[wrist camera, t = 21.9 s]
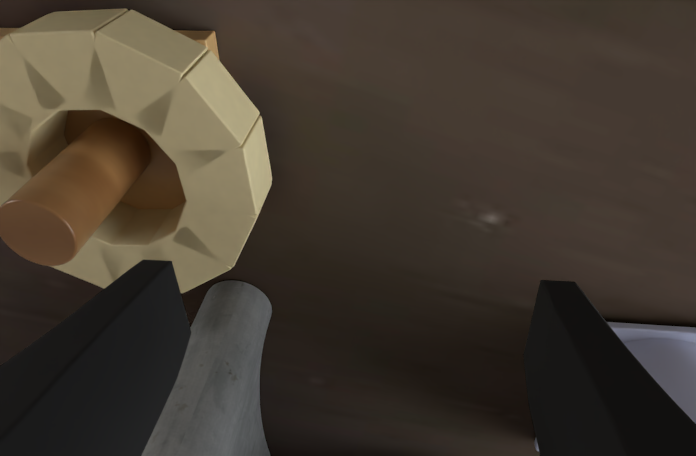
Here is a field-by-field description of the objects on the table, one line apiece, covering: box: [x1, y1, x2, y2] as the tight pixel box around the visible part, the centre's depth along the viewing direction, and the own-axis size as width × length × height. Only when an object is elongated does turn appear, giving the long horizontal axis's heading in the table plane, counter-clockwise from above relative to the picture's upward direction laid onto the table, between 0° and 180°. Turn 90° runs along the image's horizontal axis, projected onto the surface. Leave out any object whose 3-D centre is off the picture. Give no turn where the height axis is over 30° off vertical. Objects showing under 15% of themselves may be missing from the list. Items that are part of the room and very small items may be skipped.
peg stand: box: [0, 28, 219, 266], centre depth 19 cm, size 8×8×6 cm
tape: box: [0, 8, 272, 293], centre depth 20 cm, size 10×10×2 cm
